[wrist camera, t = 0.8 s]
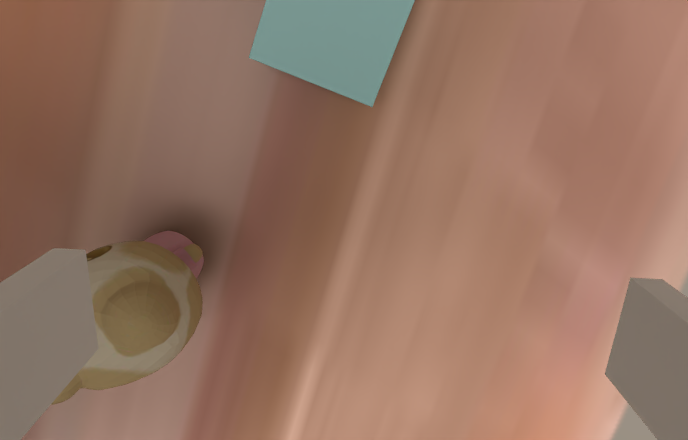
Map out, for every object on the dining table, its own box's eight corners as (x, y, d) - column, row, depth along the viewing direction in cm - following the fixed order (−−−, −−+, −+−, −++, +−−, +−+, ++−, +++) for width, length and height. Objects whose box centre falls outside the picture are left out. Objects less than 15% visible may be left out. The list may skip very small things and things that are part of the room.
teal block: (264, 57, 35) (248, 57, 29) (302, -61, 32) (292, -86, 27) (368, 98, 36) (372, 107, 30) (412, -13, 33) (425, -28, 27)
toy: (191, 178, 37) (95, 253, 23) (255, 263, 40) (204, 380, 25) (94, 241, 39) (-50, 348, 25) (162, 320, 41) (65, 458, 27)
